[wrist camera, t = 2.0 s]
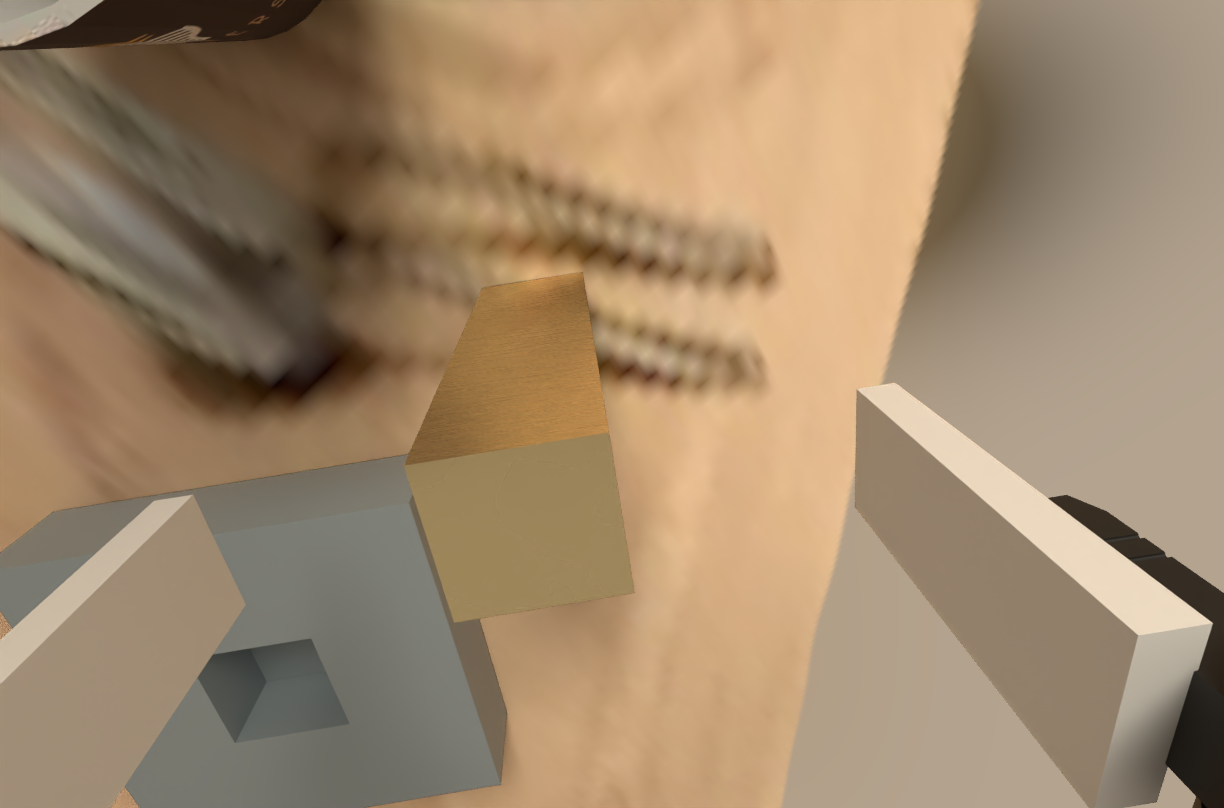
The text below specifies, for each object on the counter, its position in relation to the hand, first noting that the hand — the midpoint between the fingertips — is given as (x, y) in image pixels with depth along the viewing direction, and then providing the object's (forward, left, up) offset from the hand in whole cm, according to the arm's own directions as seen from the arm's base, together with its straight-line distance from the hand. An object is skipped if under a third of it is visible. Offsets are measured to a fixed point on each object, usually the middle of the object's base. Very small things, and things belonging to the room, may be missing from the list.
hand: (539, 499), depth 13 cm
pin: (0, 0, -10) cm, 10 cm away
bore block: (+11, -12, -10) cm, 19 cm away
